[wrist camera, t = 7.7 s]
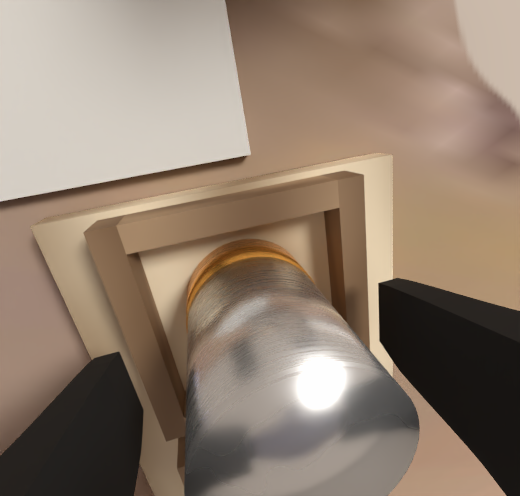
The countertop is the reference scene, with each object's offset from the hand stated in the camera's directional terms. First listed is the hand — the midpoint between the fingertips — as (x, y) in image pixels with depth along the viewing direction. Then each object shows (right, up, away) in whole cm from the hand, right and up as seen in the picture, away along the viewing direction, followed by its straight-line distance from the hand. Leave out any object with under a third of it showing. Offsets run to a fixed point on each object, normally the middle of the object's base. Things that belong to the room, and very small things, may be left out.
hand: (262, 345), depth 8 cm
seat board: (0, -3, +5) cm, 6 cm away
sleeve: (0, +1, +2) cm, 2 cm away
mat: (-5, +8, 0) cm, 9 cm away
